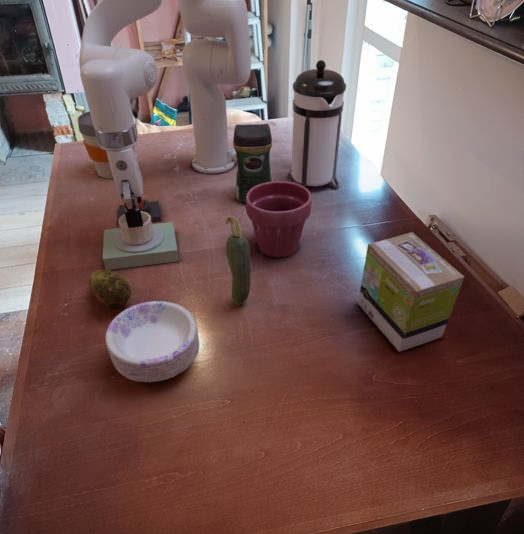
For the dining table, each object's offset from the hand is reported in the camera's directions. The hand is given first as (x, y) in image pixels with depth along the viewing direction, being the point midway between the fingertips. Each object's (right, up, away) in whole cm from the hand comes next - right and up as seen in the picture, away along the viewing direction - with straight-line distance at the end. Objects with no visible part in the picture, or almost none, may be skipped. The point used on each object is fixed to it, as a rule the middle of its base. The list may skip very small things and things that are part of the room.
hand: (135, 214), depth 104 cm
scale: (0, -7, +6) cm, 9 cm away
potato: (-3, -20, -6) cm, 21 cm away
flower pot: (+31, -6, +7) cm, 33 cm away
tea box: (+54, -24, -11) cm, 60 cm away
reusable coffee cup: (-16, +22, +35) cm, 44 cm away
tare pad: (-3, +5, +17) cm, 18 cm away
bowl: (0, -4, +3) cm, 5 cm away
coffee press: (+41, +18, +30) cm, 54 cm away
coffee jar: (+25, +11, +23) cm, 36 cm away
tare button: (-3, +6, +15) cm, 17 cm away
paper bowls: (+9, -32, -18) cm, 38 cm away
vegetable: (+23, -21, -8) cm, 32 cm away
